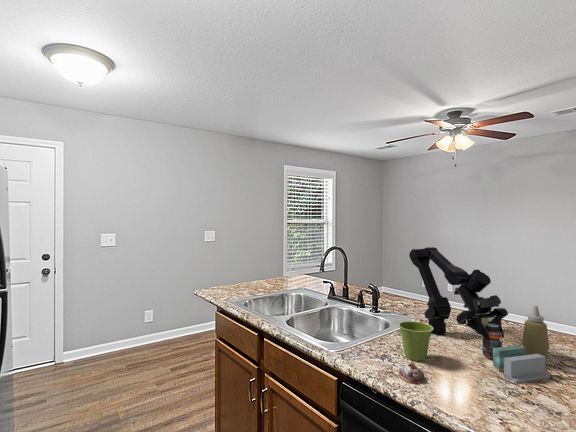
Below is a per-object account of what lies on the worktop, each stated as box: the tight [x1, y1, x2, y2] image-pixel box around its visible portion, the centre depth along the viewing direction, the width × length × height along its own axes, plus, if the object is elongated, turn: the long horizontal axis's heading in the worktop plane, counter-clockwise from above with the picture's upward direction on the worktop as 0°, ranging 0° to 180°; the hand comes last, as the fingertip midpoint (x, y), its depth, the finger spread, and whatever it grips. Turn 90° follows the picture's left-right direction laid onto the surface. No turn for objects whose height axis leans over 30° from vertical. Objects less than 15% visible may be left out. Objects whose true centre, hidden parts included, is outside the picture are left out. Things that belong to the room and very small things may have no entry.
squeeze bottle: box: [521, 305, 550, 357], centre depth 120 cm, size 8×8×18 cm
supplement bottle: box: [482, 323, 503, 359], centre depth 115 cm, size 6×6×11 cm
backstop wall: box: [503, 354, 551, 384], centre depth 102 cm, size 4×14×6 cm, turn 105°
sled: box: [471, 344, 526, 373], centre depth 113 cm, size 11×11×7 cm
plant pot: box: [397, 320, 433, 362], centre depth 116 cm, size 12×12×11 cm
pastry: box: [398, 362, 426, 384], centre depth 101 cm, size 8×8×5 cm
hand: (496, 338), depth 113 cm, fingers closed on supplement bottle, 6 cm apart
